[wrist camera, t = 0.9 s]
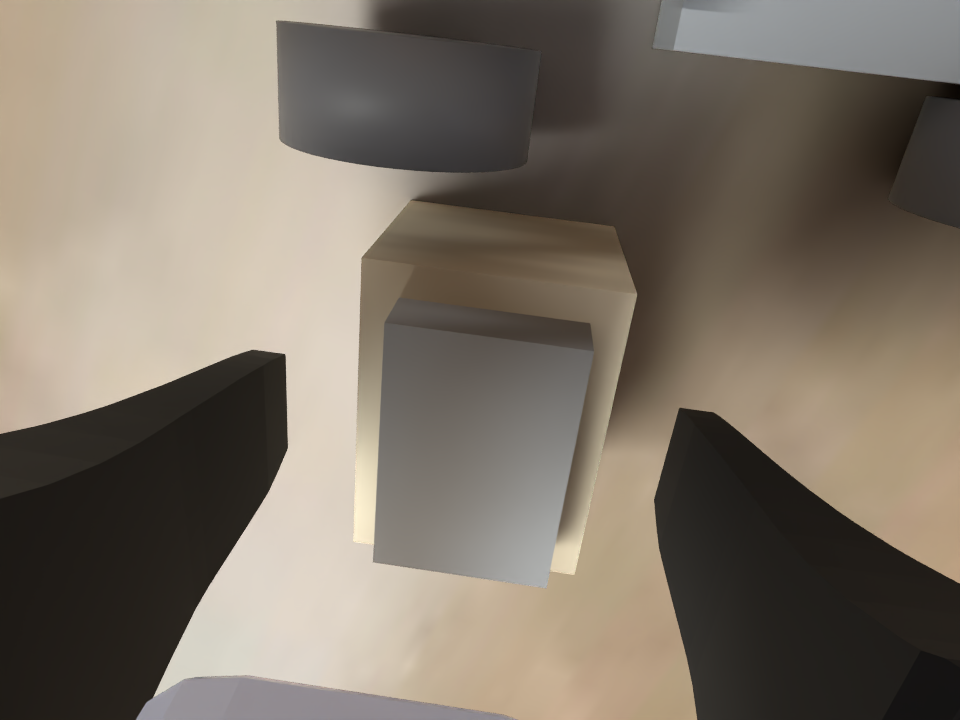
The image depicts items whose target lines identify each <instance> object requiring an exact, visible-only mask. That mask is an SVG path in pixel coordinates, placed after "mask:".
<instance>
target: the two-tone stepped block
mask: <svg viewBox="0 0 960 720" xmlns="http://www.w3.org/2000/svg"><path fill="white" fill-rule="evenodd" d="M636 298H637V292H636V289H635V286H634V283H633V280H632V277H631V274H630V271H629V269H628V266H627V263H626V260H625V257H624V254H623V251H622V248H621V245H620V242H619V239H618V236H617V233H616V230H615V227H614V226H607V225H599V224H592V223H584V222H576V221H568V220H561V219H553V218H545V217H537V216H530V215H522V214H514V213H506V212H499V211H491V210H483V209H476V208H468V207H460V206H452V205H445V204H437V203H429V202H421V201H414V200H411V201H410V202H409V203H408V204H407V206H406V207H405V208H404V209H403V210H402V211H401V213H400V214H399V215H398V216H397V217H396V218H395V220H394V221H393V222H392V223H391V224H390V225H389V227H388V228H387V229H386V230H385V231H384V232H383V234H382V235H381V236H380V237H379V238H378V239H377V241H376V242H375V243H374V244H373V245H372V246H371V248H370V249H369V250H368V251H367V252H366V253H365V254H364V256H363V257H362V263H361V297H360V332H359V366H358V400H357V435H356V469H355V503H354V538H353V542H358V543H365V544H372V545H374V554H373V562H375V563H381V564H388V565H395V566H401V567H408V568H415V569H421V570H428V571H435V572H441V573H448V574H455V575H461V576H468V577H475V578H481V579H488V580H494V581H501V582H508V583H514V584H521V585H528V586H534V587H541V588H547V583H548V578H549V573H550V571H552V572H559V573H566V574H572V575H575V570H576V566H577V561H578V557H579V552H580V548H581V543H582V539H583V534H584V530H585V525H586V521H587V517H588V512H589V508H590V503H591V499H592V494H593V490H594V485H595V481H596V476H597V472H598V467H599V463H600V459H601V454H602V450H603V445H604V441H605V436H606V432H607V427H608V423H609V418H610V414H611V409H612V405H613V401H614V396H615V392H616V387H617V383H618V378H619V374H620V369H621V365H622V360H623V356H624V351H625V347H626V343H627V338H628V334H629V329H630V325H631V320H632V316H633V311H634V307H635V302H636Z"/></svg>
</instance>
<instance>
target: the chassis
mask: <svg viewBox="0 0 960 720" xmlns="http://www.w3.org/2000/svg"><path fill="white" fill-rule="evenodd" d="M276 24H277V64H278V103H279V139H280V140H281V142H283V143H284V144H285V145H287V146H289V147H291V148H294V149H296V150H299V151H302V152H305V153H309V154H312V155H316V156H320V157H324V158H328V159H333V160H338V161H343V162H349V163H355V164H361V165H369V166H376V167H384V168H393V169H403V170H414V171H429V172H461V173H470V172H492V171H502V170H509V169H514V168H517V167H520V166H523V165H524V164H526V162H527V157H528V150H529V142H530V135H531V127H532V120H533V112H534V105H535V97H536V90H537V82H538V75H539V67H540V60H541V52H542V51H538V50H532V49H525V48H519V47H511V46H504V45H496V44H488V43H481V42H473V41H465V40H456V39H448V38H440V37H431V36H423V35H414V34H406V33H397V32H388V31H379V30H370V29H361V28H352V27H342V26H333V25H323V24H313V23H302V22H291V21H276ZM652 48H654V49H662V50H671V51H679V52H688V53H696V54H705V55H713V56H722V57H730V58H739V59H747V60H756V61H764V62H773V63H781V64H790V65H798V66H807V67H815V68H824V69H832V70H841V71H849V72H858V73H866V74H875V75H883V76H892V77H900V78H909V79H917V80H926V81H934V82H943V83H951V84H960V0H662V1H661V6H660V11H659V16H658V21H657V26H656V31H655V37H654V42H653V47H652ZM888 200H889V201H890V202H891V203H892V204H894V205H895V206H897V207H899V208H901V209H904V210H906V211H908V212H911V213H913V214H916V215H919V216H921V217H924V218H927V219H930V220H933V221H937V222H940V223H943V224H947V225H950V226H954V227H957V228H960V99H953V98H944V97H934V96H926V98H925V100H924V103H923V106H922V109H921V111H920V114H919V117H918V119H917V122H916V125H915V127H914V130H913V133H912V135H911V138H910V141H909V143H908V146H907V149H906V151H905V154H904V157H903V159H902V162H901V165H900V167H899V170H898V173H897V175H896V178H895V181H894V184H893V186H892V189H891V192H890V194H889V197H888Z"/></svg>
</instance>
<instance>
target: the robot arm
mask: <svg viewBox="0 0 960 720" xmlns="http://www.w3.org/2000/svg"><path fill="white" fill-rule="evenodd" d="M287 449H288V437H287V397H286V357H285V354H280V353H272V352H265V351H258V350H251V351H247V352H244V353H241V354H238V355H235V356H232V357H230V358H227V359H225V360H222V361H220V362H217V363H215V364H212V365H210V366H208V367H205V368H203V369H201V370H198V371H196V372H193V373H191V374H188V375H186V376H184V377H181V378H179V379H176V380H174V381H172V382H169V383H167V384H164V385H162V386H159V387H156V388H154V389H151V390H148V391H146V392H143V393H140V394H138V395H135V396H132V397H130V398H127V399H124V400H122V401H119V402H116V403H114V404H111V405H108V406H105V407H102V408H99V409H96V410H92V411H89V412H86V413H83V414H79V415H76V416H72V417H69V418H65V419H62V420H58V421H54V422H51V423H47V424H43V425H39V426H35V427H31V428H26V429H21V430H17V431H12V432H7V433H3V434H0V720H517V719H514V718H511V717H509V716H506V715H502V714H496V713H489V712H483V711H476V710H470V709H463V708H457V707H450V706H444V705H437V704H431V703H424V702H418V701H411V700H405V699H398V698H391V697H385V696H378V695H372V694H365V693H359V692H352V691H346V690H339V689H333V688H326V687H320V686H313V685H307V684H300V683H294V682H287V681H281V680H274V679H267V678H261V677H254V676H248V675H244V676H215V677H194V678H189V679H184V680H182V681H181V682H179V683H177V684H176V685H174V686H172V687H171V688H169V689H167V690H166V691H164V692H162V693H161V694H159V695H157V696H156V697H154V698H153V696H154V694H155V692H156V690H157V688H158V686H159V684H160V681H161V679H162V677H163V675H164V673H165V671H166V668H167V666H168V664H169V662H170V660H171V658H172V656H173V654H174V652H175V650H176V648H177V646H178V644H179V641H180V639H181V637H182V635H183V633H184V631H185V629H186V627H187V625H188V623H189V621H190V619H191V617H192V615H193V613H194V611H195V609H196V607H197V606H198V604H199V602H200V600H201V599H202V597H203V595H204V593H205V592H206V590H207V588H208V587H209V585H210V583H211V582H212V580H213V579H214V577H215V576H216V574H217V572H218V571H219V569H220V568H221V566H222V565H223V563H224V562H225V560H226V558H227V557H228V555H229V554H230V552H231V551H232V549H233V547H234V546H235V544H236V543H237V541H238V540H239V538H240V537H241V535H242V533H243V532H244V530H245V529H246V527H247V526H248V524H249V522H250V521H251V519H252V518H253V516H254V514H255V513H256V511H257V510H258V508H259V506H260V505H261V503H262V502H263V500H264V498H265V497H266V495H267V493H268V492H269V490H270V488H271V485H272V483H273V481H274V479H275V477H276V475H277V472H278V470H279V468H280V465H281V463H282V461H283V458H284V456H285V454H286V451H287ZM654 503H655V514H656V526H657V534H658V543H659V549H660V554H661V558H662V562H663V566H664V570H665V574H666V578H667V582H668V586H669V590H670V594H671V598H672V602H673V606H674V609H675V613H676V617H677V621H678V625H679V629H680V633H681V637H682V640H683V644H684V648H685V652H686V656H687V661H688V665H689V670H690V675H691V680H692V685H693V692H694V699H695V706H696V713H697V720H960V584H959V583H957V582H955V581H954V580H952V579H950V578H948V577H946V576H944V575H942V574H941V573H939V572H937V571H935V570H933V569H931V568H929V567H928V566H926V565H924V564H922V563H920V562H918V561H916V560H915V559H913V558H911V557H909V556H908V555H906V554H904V553H903V552H901V551H899V550H897V549H896V548H894V547H892V546H891V545H889V544H888V543H886V542H884V541H883V540H881V539H880V538H878V537H877V536H875V535H873V534H872V533H870V532H869V531H867V530H865V529H864V528H862V527H861V526H859V525H858V524H856V523H854V522H853V521H852V520H850V519H849V518H847V517H846V516H844V515H843V514H841V513H840V512H838V511H837V510H836V509H834V508H833V507H832V506H830V505H829V504H828V503H826V502H825V501H824V500H822V499H821V498H819V497H818V496H817V495H815V494H814V493H813V492H811V491H810V490H809V489H807V488H806V487H805V486H804V485H802V484H801V483H800V482H798V481H797V480H796V479H795V478H793V477H792V476H791V475H790V474H788V473H787V472H786V471H785V470H784V469H782V468H781V467H780V466H779V465H778V464H776V463H775V462H774V461H773V460H772V459H770V458H769V457H768V456H767V455H766V454H764V453H763V452H762V451H761V450H760V449H759V448H757V447H756V446H755V445H754V444H753V443H751V442H750V441H749V440H748V439H747V438H746V437H744V436H743V435H742V434H741V433H740V432H739V431H737V430H736V429H735V428H734V427H733V426H731V425H730V424H729V423H728V422H726V421H725V420H724V419H722V418H721V417H720V416H718V415H717V414H715V413H714V412H706V411H699V410H691V409H684V408H679V411H678V415H677V418H676V422H675V426H674V429H673V433H672V437H671V440H670V444H669V448H668V451H667V455H666V459H665V462H664V466H663V469H662V473H661V477H660V480H659V484H658V488H657V491H656V495H655V499H654Z"/></svg>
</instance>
